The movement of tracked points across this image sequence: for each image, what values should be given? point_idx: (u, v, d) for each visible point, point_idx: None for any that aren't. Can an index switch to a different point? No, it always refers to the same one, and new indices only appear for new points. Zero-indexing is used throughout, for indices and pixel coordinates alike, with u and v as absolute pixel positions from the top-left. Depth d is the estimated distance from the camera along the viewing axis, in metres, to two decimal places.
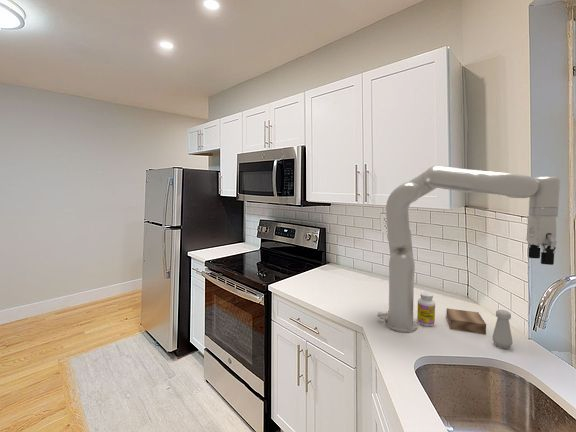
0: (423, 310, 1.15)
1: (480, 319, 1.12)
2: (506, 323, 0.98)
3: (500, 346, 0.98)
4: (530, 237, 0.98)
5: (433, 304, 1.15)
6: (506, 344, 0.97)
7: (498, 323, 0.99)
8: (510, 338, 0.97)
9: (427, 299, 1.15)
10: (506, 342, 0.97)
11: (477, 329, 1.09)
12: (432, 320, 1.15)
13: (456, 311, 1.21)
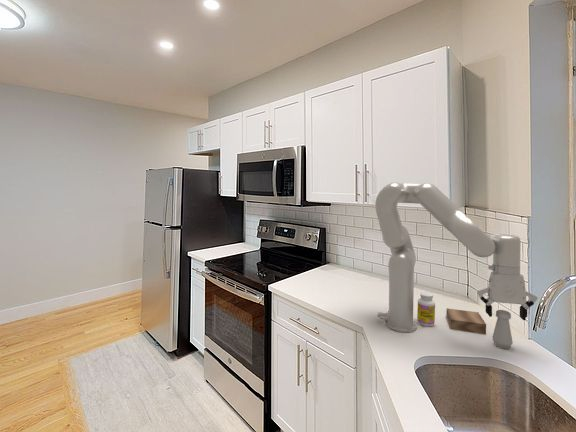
0: (423, 310, 1.15)
1: (480, 319, 1.12)
2: (506, 323, 0.98)
3: (500, 346, 0.98)
4: (506, 297, 0.96)
5: (433, 304, 1.15)
6: (506, 344, 0.97)
7: (498, 323, 0.99)
8: (510, 338, 0.97)
9: (427, 299, 1.15)
10: (506, 342, 0.97)
11: (477, 329, 1.09)
12: (432, 320, 1.15)
13: (456, 311, 1.21)
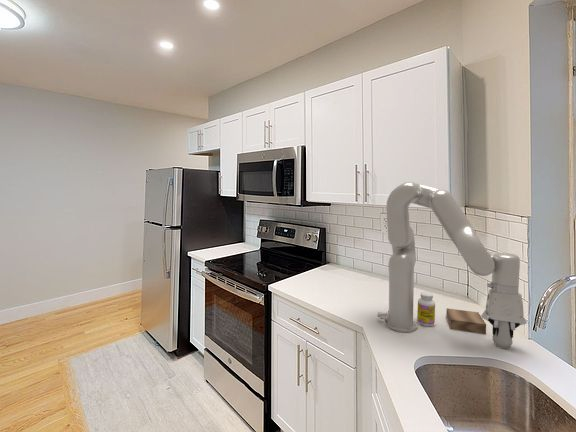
0: (423, 310, 1.15)
1: (480, 319, 1.12)
2: (506, 323, 0.98)
3: (500, 346, 0.98)
4: (504, 315, 0.96)
5: (433, 304, 1.15)
6: (506, 344, 0.97)
7: (498, 323, 0.99)
8: (510, 338, 0.97)
9: (427, 299, 1.15)
10: (506, 342, 0.97)
11: (477, 329, 1.09)
12: (432, 320, 1.15)
13: (456, 311, 1.21)
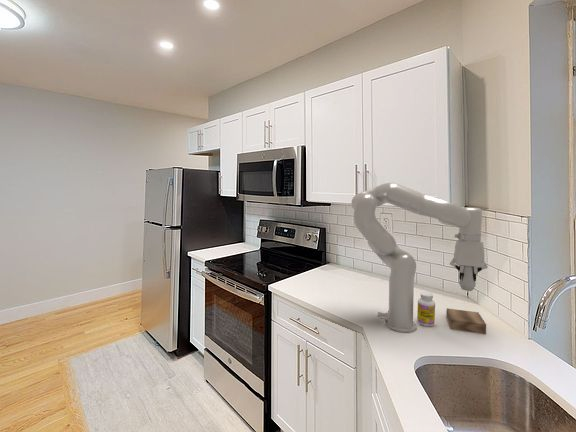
0: (423, 310, 1.15)
1: (480, 319, 1.12)
2: (470, 268, 1.12)
3: (465, 288, 1.13)
4: (468, 261, 1.11)
5: (433, 304, 1.15)
6: (469, 286, 1.11)
7: (463, 269, 1.13)
8: (473, 281, 1.12)
9: (427, 299, 1.15)
10: (469, 284, 1.11)
11: (477, 329, 1.09)
12: (432, 320, 1.15)
13: (456, 311, 1.21)
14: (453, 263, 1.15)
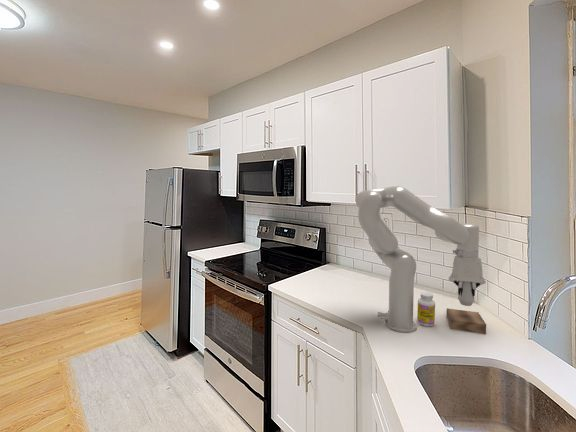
0: (423, 310, 1.15)
1: (480, 319, 1.12)
2: (468, 283, 1.13)
3: (464, 303, 1.14)
4: (466, 276, 1.12)
5: (433, 304, 1.15)
6: (468, 301, 1.13)
7: (462, 284, 1.15)
8: (472, 296, 1.13)
9: (427, 299, 1.15)
10: (468, 300, 1.13)
11: (477, 329, 1.09)
12: (432, 320, 1.15)
13: (456, 311, 1.21)
14: (452, 278, 1.16)
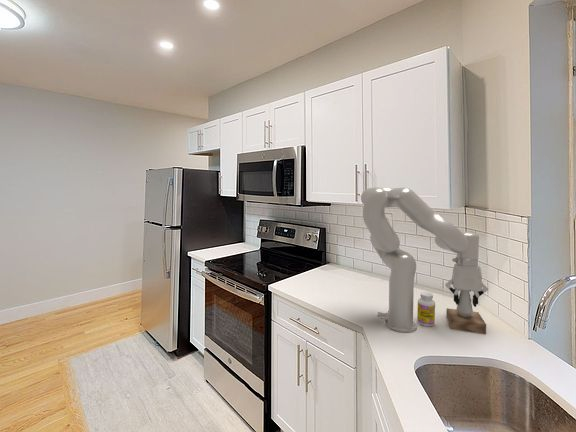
0: (423, 310, 1.15)
1: (480, 319, 1.12)
2: (467, 295, 1.14)
3: (462, 315, 1.14)
4: (466, 285, 1.12)
5: (433, 304, 1.15)
6: (467, 313, 1.13)
7: (460, 296, 1.15)
8: (470, 308, 1.13)
9: (427, 299, 1.15)
10: (467, 311, 1.13)
11: (477, 329, 1.09)
12: (432, 320, 1.15)
13: (456, 311, 1.21)
14: (450, 284, 1.17)
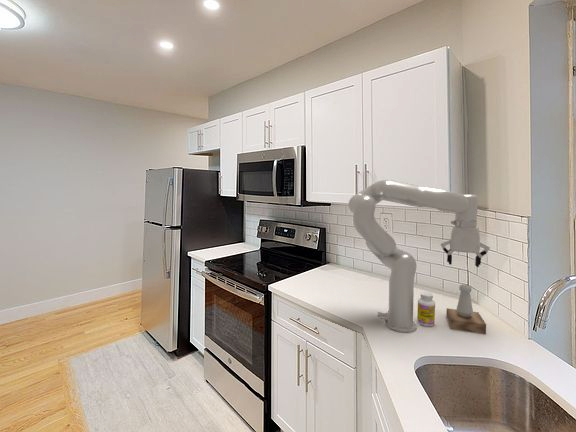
0: (423, 310, 1.15)
1: (480, 319, 1.12)
2: (467, 295, 1.14)
3: (462, 315, 1.14)
4: (463, 246, 1.12)
5: (433, 304, 1.15)
6: (467, 313, 1.13)
7: (461, 296, 1.15)
8: (470, 308, 1.13)
9: (427, 299, 1.15)
10: (467, 311, 1.13)
11: (477, 329, 1.09)
12: (432, 320, 1.15)
13: (456, 311, 1.21)
14: (447, 244, 1.17)
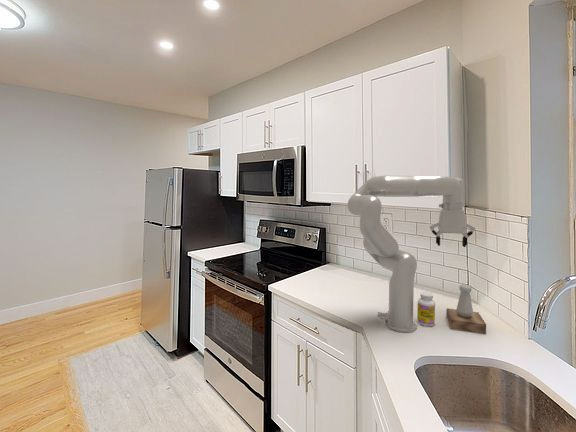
0: (423, 310, 1.15)
1: (480, 319, 1.12)
2: (467, 295, 1.14)
3: (462, 315, 1.14)
4: (451, 228, 1.18)
5: (433, 304, 1.15)
6: (467, 313, 1.13)
7: (461, 296, 1.15)
8: (470, 308, 1.13)
9: (427, 299, 1.15)
10: (467, 311, 1.13)
11: (477, 329, 1.09)
12: (432, 320, 1.15)
13: (456, 311, 1.21)
14: (435, 226, 1.22)
